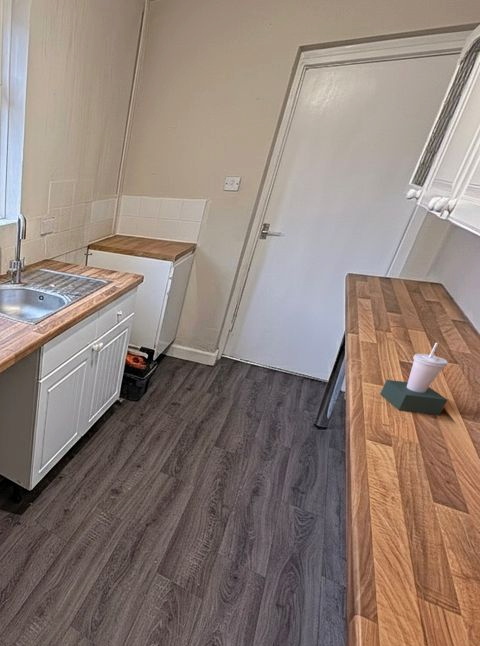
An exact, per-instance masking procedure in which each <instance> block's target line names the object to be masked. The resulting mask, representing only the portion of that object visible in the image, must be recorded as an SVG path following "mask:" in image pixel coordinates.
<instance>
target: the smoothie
mask: <svg viewBox="0 0 480 646" xmlns="http://www.w3.org/2000/svg"><path fill="white" fill-rule="evenodd" d="M438 346H439V342H435V343H434V346H433V347H432V349H431V352H430V354H427V353H415V354H414V356H413V357H412V359H413V362H412V367H411V370H410V373H409V377H408V380H407V382H408V384H407V388H408V389H410V390H412V391H415V392H420V393H424V392H425V391H426V390H427V389H428V387H431V385H432V384H433V382H434V381H435V379H436V378H437V377H438V375H440V373H441V371H442V370H443V368H445V367H447V366H448V364H449V362H448V360H446V359H445V358H442V357H440V356H437V355H435V354H434V353H435V352H436V350H437V348H438Z"/></svg>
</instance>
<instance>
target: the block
mask: <svg viewBox="0 0 480 646" xmlns="http://www.w3.org/2000/svg"><path fill="white" fill-rule="evenodd" d="M407 384H408V381H403V380H392V379H386V380H385V382H384V385H383V387H382V389H381V391H380V394H379V395H380V396H381V397H382V398H384V399H385V400H386V401H387V402H388V403H389V404H391V405H392V406H393V407H394V408H395V409H397V411H400V412H401V411H402V412H410V413H416V414H417V413H418V414H424V415H425V414H427V415H434V416H440V415H441V413H442V412H443V409H444V408H445V406H446V404H447V402H448V399H447V398H446V397H445V396H443V395H442V394H440V393H439V392H437V391H436V390H435V389H433V388H431V386H429V387H428V389H427V390H426V391H425V392H424V393H420V392H415V391H412V390H410V389H408V388H407Z"/></svg>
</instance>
